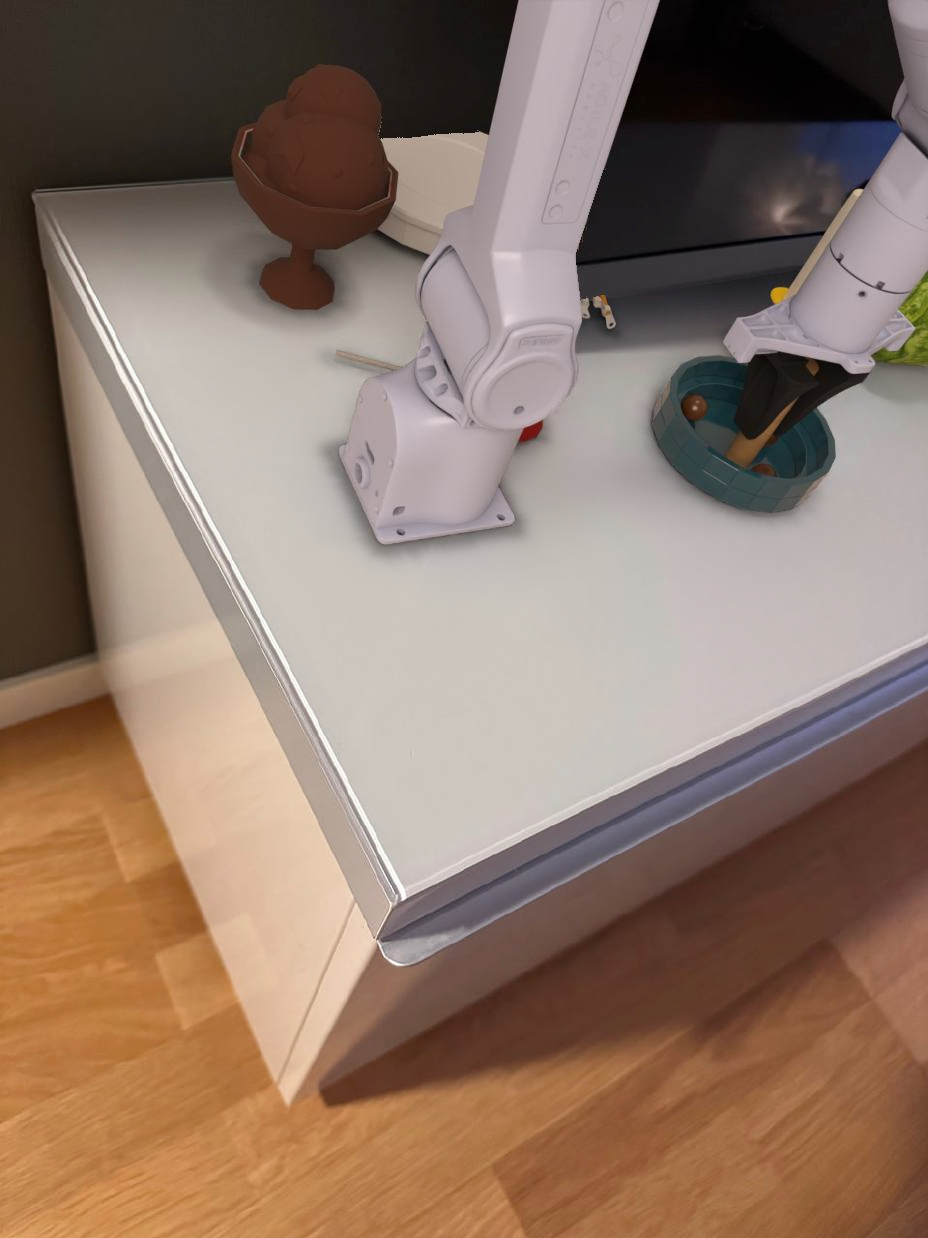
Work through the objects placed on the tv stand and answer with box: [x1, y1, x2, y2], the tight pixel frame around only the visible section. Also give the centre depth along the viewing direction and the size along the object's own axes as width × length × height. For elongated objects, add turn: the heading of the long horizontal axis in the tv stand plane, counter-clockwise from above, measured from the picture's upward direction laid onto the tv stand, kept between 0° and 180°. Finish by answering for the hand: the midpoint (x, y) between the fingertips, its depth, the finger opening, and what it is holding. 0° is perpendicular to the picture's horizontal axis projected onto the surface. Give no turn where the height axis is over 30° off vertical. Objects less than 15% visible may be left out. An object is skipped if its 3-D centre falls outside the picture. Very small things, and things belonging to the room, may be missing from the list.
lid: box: [376, 131, 489, 256], centre depth 81 cm, size 17×20×3 cm
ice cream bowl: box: [230, 63, 399, 311], centre depth 64 cm, size 11×11×15 cm
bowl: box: [651, 354, 837, 514], centre depth 71 cm, size 13×13×4 cm
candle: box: [770, 188, 864, 305], centre depth 75 cm, size 5×5×16 cm
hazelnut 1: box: [681, 394, 708, 422], centre depth 72 cm, size 2×2×2 cm
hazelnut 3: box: [751, 464, 777, 477], centre depth 69 cm, size 2×2×2 cm
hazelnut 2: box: [763, 434, 779, 447], centre depth 72 cm, size 2×2×2 cm
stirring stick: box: [726, 357, 819, 468], centre depth 67 cm, size 2×2×9 cm
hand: (756, 428), depth 68 cm, fingers closed on stirring stick, 2 cm apart
